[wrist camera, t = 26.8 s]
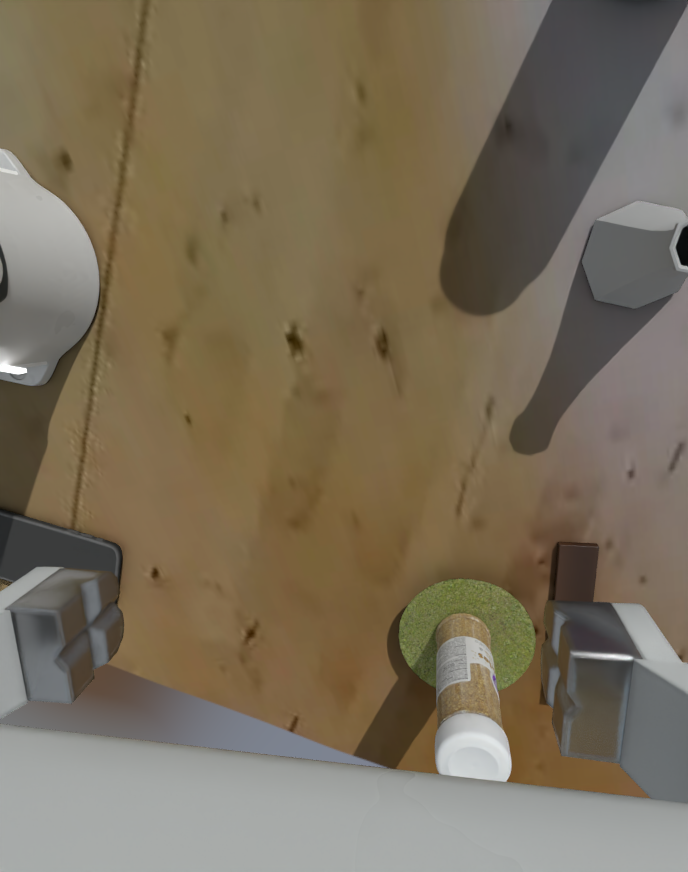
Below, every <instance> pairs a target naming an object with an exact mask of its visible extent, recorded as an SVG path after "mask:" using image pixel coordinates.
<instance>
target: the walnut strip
mask: <svg viewBox="0 0 688 872" xmlns="http://www.w3.org/2000/svg"><path fill="white" fill-rule="evenodd" d="M598 551H599V546H598V545H597V544H591V543H570V542H558V550H557V562H556V573H555V585H554V596H553V600H557V601H582V602H593V597H594V588H595V579H596V569H597V560H598ZM545 701H546V700H545Z"/></svg>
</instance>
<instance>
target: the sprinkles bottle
mask: <svg viewBox="0 0 688 872" xmlns="http://www.w3.org/2000/svg"><path fill="white" fill-rule="evenodd" d="M436 642H437V658H436V705H437V717H438V725H437V726H438V731H437V733H436V736H435V760H436V766H437V769H438V772H439V774H441V775H450V776H459V777H467V778H476V779H485V780H493V781H502V782H506V781H507V779H508V778H509V775H510V772H511V756H510V749H509V743H508V739H507V736H506V734H505V733H504V731H503V726H502V719H501V713H500V707H499V695H498V689H497V682H496V676H495V668H494V661H493V656H492V653H491V646H490V644H491V636H490V632H489V629H488V628H487V626H486V624H485V623H484V622H483V621H481V620H480V619H479V618H478V617H476V616H473V615H471V614H466V613H458V614H452V615H450V616H448V617H446V618H445V619H443V620H442V621H441V622H440V624H439V625H438V627H437V630H436Z"/></svg>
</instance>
